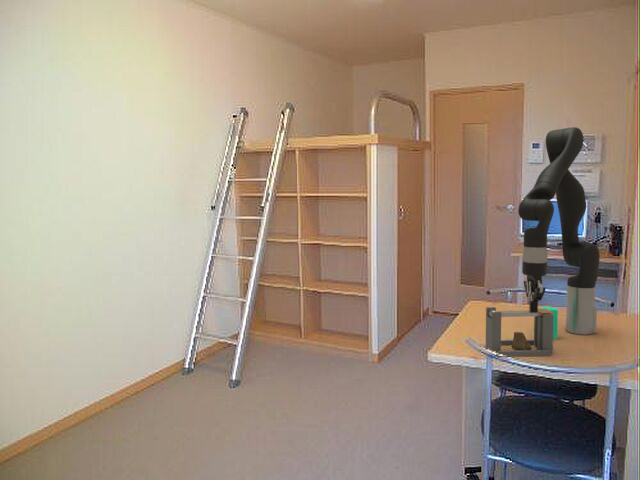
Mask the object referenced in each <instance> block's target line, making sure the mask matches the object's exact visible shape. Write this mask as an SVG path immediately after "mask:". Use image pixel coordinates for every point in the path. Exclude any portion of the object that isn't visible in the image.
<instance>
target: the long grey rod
mask: <svg viewBox="0 0 640 480" xmlns="http://www.w3.org/2000/svg"><path fill="white" fill-rule="evenodd" d="M491 312H501V318H508V317H509V318H511V317H512V318H514V317H517V318H518V317H523V318H524V317H534V316H543V314H553V312H551V311H550V310H548V309H540V308H538V312H531V311H529V309H528V310H498V311H497V310H496V311H495V310H494V309H490V310H489V311H488V314H489V315H490V316H491Z"/></svg>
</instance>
